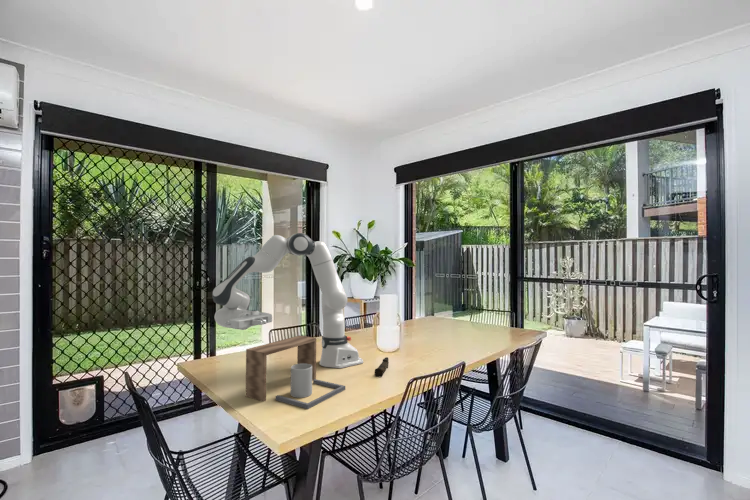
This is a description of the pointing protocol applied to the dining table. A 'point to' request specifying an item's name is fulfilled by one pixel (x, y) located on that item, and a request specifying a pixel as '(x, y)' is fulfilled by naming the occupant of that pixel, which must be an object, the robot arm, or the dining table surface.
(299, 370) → the mug
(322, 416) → the dining table surface
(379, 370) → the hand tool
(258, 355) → the wooden bridge arch
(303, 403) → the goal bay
